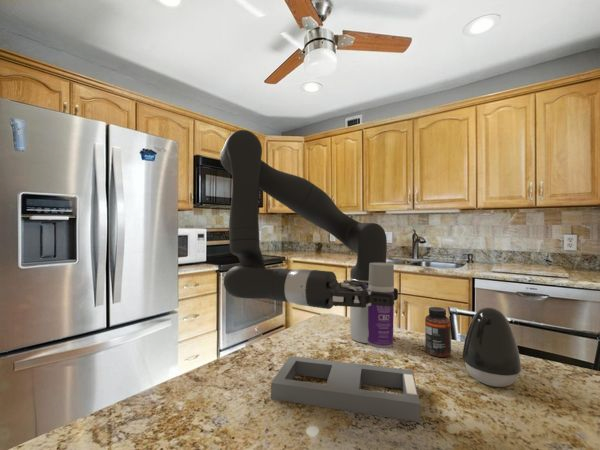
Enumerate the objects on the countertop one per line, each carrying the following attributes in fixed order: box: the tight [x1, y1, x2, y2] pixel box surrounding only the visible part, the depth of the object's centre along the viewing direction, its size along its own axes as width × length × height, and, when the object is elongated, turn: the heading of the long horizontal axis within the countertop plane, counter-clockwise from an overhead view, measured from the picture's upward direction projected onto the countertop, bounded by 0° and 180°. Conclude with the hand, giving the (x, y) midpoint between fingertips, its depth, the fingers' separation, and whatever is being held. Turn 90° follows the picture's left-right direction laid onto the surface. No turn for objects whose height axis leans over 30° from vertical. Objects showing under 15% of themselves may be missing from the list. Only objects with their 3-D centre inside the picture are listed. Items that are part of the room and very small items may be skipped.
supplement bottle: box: [424, 306, 452, 358], centre depth 76 cm, size 6×6×11 cm
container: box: [367, 262, 395, 349], centre depth 56 cm, size 5×5×15 cm
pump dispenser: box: [462, 306, 522, 388], centre depth 62 cm, size 10×10×15 cm
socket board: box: [270, 355, 421, 423], centre depth 58 cm, size 12×26×3 cm, turn 75°
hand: (395, 297), depth 55 cm, fingers closed on container, 4 cm apart
